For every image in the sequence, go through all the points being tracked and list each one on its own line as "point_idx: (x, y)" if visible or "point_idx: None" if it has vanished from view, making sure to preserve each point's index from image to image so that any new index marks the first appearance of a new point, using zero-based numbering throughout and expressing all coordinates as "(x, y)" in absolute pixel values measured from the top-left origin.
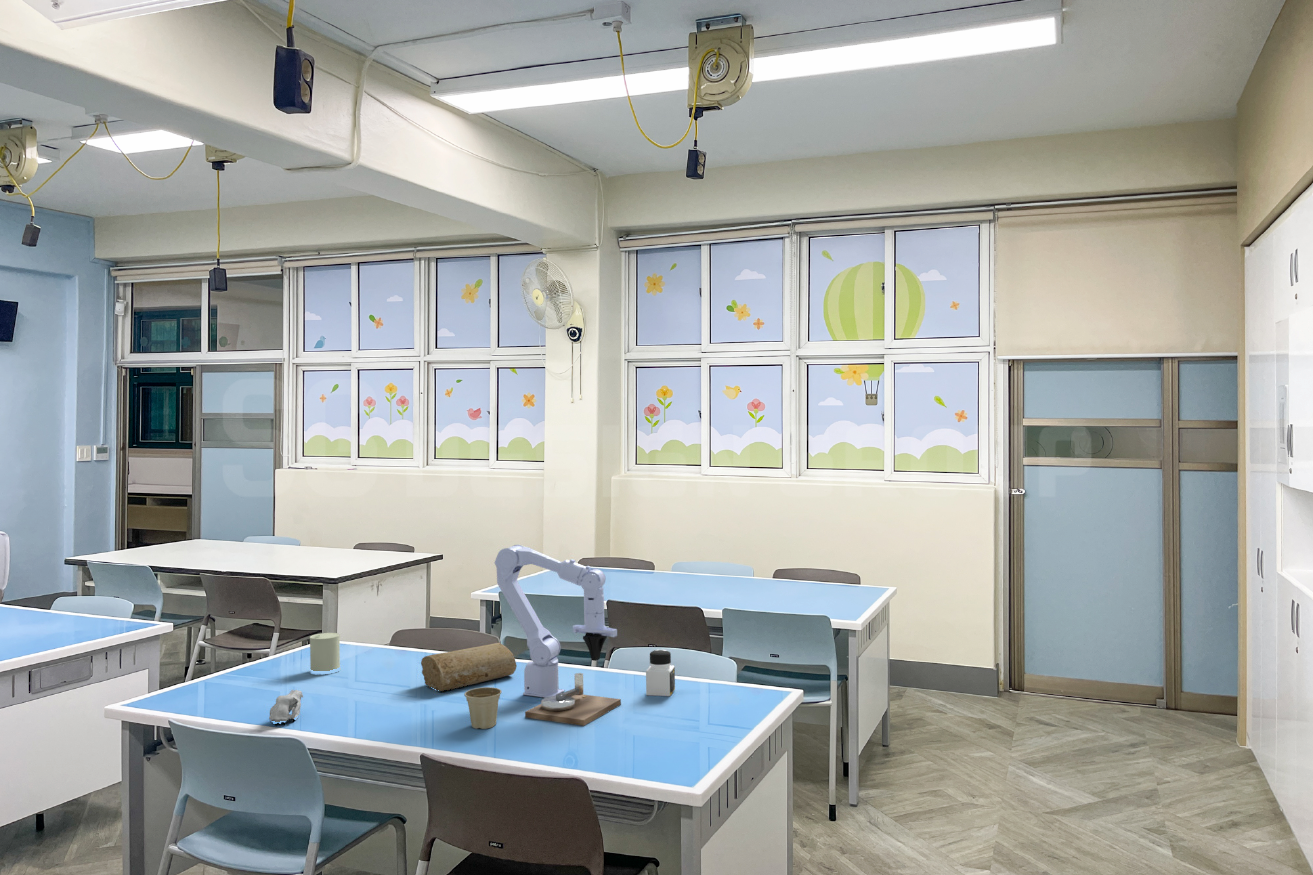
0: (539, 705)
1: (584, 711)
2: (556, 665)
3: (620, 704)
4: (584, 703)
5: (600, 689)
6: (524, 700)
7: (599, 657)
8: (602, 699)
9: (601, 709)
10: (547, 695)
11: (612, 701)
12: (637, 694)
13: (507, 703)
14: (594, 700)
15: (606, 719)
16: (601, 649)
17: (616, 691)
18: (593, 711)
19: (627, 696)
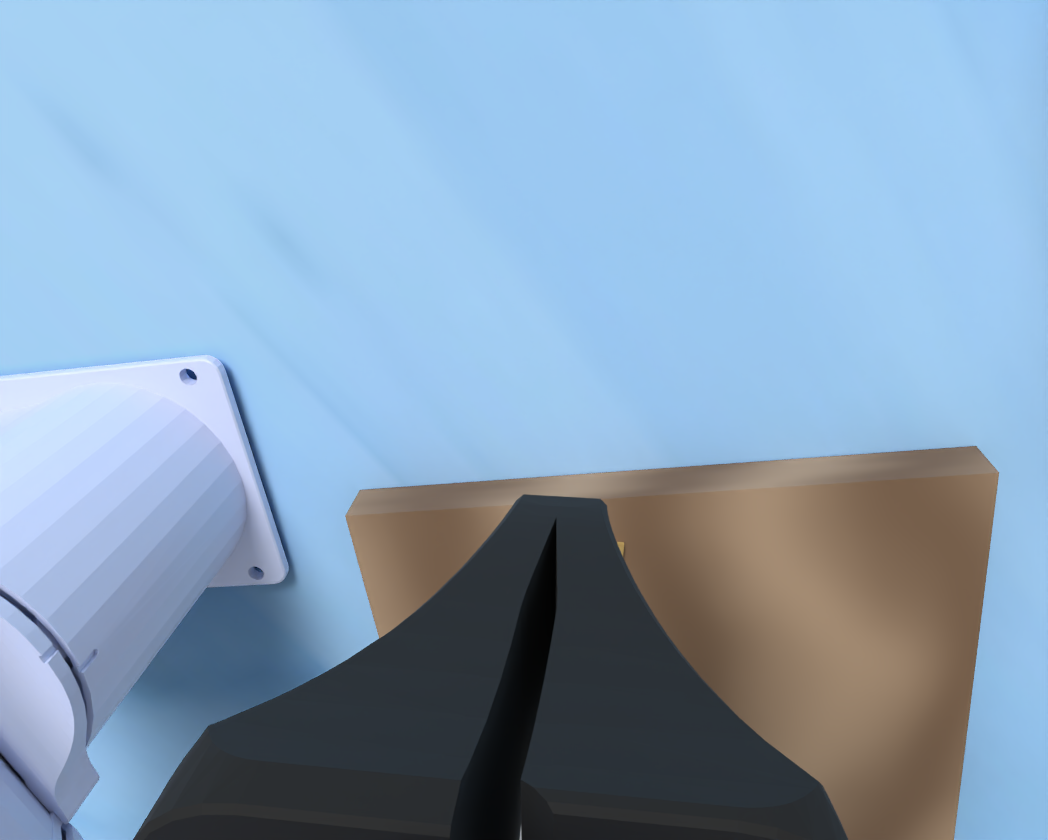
0: None
1: (844, 830)
2: (87, 652)
3: (976, 453)
4: (725, 692)
5: (461, 84)
6: (169, 668)
7: (609, 523)
8: (816, 551)
9: (954, 757)
10: (236, 562)
11: (947, 563)
12: (1004, 22)
13: (141, 754)
14: (759, 600)
15: (1025, 776)
16: (640, 592)
17: (683, 52)
18: (914, 810)
19: (914, 166)
